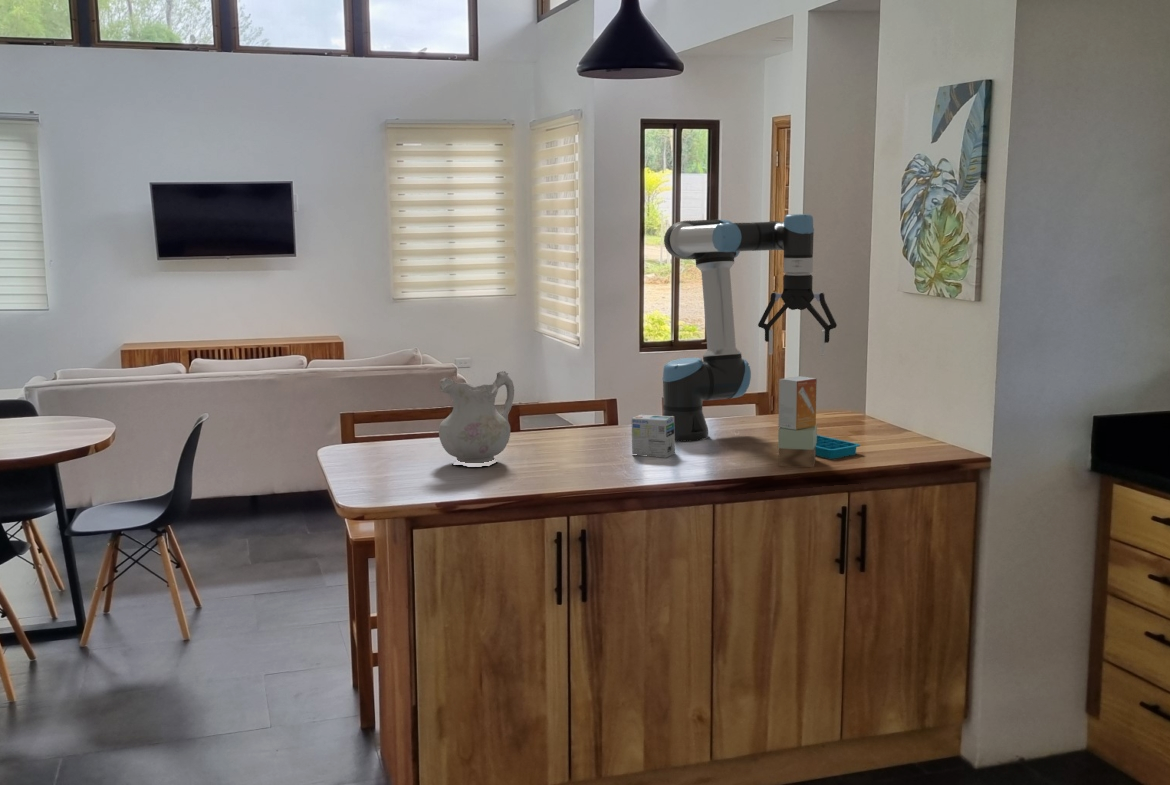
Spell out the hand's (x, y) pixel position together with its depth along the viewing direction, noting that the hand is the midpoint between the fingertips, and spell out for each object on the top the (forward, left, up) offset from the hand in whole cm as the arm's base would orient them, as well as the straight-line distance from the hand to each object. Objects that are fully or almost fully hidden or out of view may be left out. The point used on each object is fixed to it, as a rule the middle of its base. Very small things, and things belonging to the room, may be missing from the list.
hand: (796, 354), depth 286 cm
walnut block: (+1, -2, -29) cm, 29 cm away
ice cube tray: (+6, +13, -29) cm, 33 cm away
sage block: (+1, -2, -24) cm, 24 cm away
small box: (+1, -3, -19) cm, 19 cm away
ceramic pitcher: (-84, -17, -29) cm, 91 cm away
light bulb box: (-39, +2, -29) cm, 49 cm away
